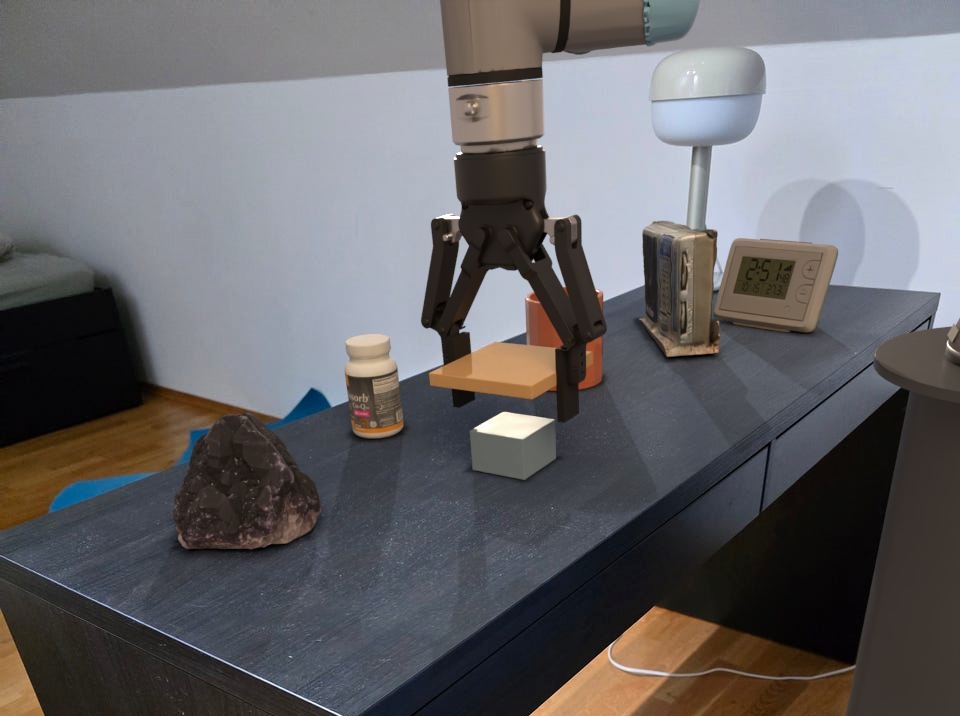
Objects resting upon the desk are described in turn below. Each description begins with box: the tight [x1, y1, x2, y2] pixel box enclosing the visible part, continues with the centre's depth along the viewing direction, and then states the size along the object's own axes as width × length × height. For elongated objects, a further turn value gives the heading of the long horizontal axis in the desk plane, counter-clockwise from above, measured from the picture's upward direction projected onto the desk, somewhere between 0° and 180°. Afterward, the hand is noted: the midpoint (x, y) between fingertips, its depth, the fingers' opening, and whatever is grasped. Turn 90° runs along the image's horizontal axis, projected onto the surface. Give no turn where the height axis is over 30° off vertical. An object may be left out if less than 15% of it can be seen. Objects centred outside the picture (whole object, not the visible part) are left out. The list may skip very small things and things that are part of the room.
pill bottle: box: [344, 333, 404, 440], centre depth 94 cm, size 6×6×10 cm
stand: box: [469, 411, 557, 481], centre depth 85 cm, size 6×6×4 cm
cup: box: [524, 286, 604, 392], centre depth 106 cm, size 9×9×10 cm
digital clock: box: [713, 237, 839, 333], centre depth 121 cm, size 16×9×11 cm, turn 31°
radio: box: [638, 220, 721, 358], centre depth 117 cm, size 23×9×15 cm, turn 175°
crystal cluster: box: [172, 412, 322, 550], centre depth 76 cm, size 13×14×10 cm
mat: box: [428, 341, 593, 400], centre depth 81 cm, size 11×11×1 cm
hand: (514, 410), depth 83 cm, fingers closed on mat, 11 cm apart
